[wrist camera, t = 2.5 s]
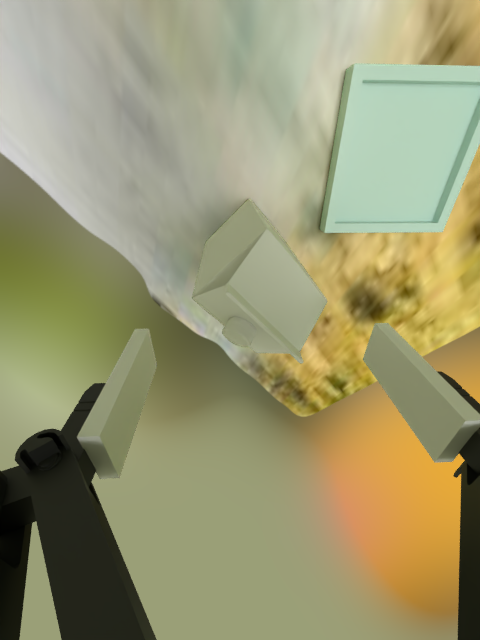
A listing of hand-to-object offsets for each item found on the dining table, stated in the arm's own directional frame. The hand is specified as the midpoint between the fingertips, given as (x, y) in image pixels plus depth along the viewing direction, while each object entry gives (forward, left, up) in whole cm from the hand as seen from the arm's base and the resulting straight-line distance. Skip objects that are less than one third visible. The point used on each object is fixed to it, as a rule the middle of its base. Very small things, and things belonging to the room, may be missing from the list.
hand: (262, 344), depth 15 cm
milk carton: (-1, 0, -20) cm, 20 cm away
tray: (-9, +16, -19) cm, 27 cm away
